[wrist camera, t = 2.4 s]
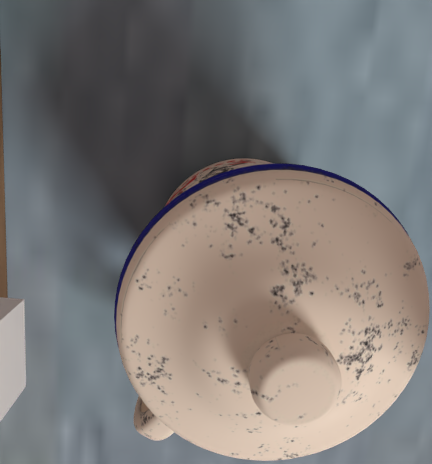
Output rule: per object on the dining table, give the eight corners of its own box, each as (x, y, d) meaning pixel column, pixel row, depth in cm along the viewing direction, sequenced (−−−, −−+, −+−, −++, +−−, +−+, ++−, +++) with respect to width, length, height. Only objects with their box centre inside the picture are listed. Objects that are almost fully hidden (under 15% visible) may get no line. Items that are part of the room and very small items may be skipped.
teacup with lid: (224, 113, 18) (266, 65, 6) (365, 224, 19) (602, 348, 8) (86, 304, 20) (-71, 529, 8) (224, 390, 21) (250, 678, 10)
